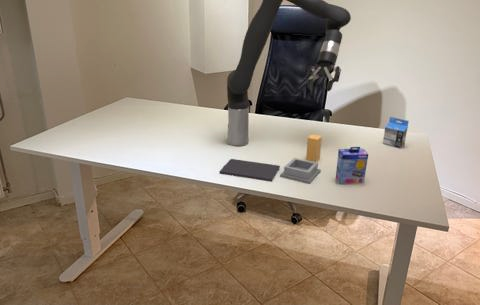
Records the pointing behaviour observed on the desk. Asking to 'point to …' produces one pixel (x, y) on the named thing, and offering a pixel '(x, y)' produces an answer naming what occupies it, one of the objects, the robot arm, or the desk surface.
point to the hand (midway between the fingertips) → (318, 89)
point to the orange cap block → (313, 148)
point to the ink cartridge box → (351, 165)
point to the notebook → (250, 170)
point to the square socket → (301, 170)
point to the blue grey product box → (395, 133)
